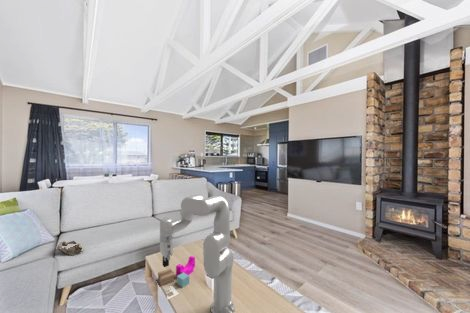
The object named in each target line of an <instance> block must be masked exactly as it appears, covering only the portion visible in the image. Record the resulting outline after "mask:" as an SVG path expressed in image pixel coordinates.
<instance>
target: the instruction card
mask: <svg viewBox="0 0 470 313" xmlns="http://www.w3.org/2000/svg"><path fill="white" fill-rule="evenodd" d="M169 286H170V288H171V290H168V291H167V290H166V289H165V293H166V299H167V300H169V299H171V298H173V297H176V296H178V295H180V293H179V292H178V291H177V289H175V287H174V286H173V285H169ZM170 288H169V289H170ZM169 291H170V292H169ZM167 292H169V293H167Z"/></svg>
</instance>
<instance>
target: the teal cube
mask: <svg viewBox="0 0 470 313" xmlns="http://www.w3.org/2000/svg"><path fill="white" fill-rule="evenodd" d="M176 285H178V286H180V287H181V288H184V287H186V286H188V285H190V275H187V274H185V273H184V272H183V273H181V274H180V275H178V276H177V277H176Z"/></svg>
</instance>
